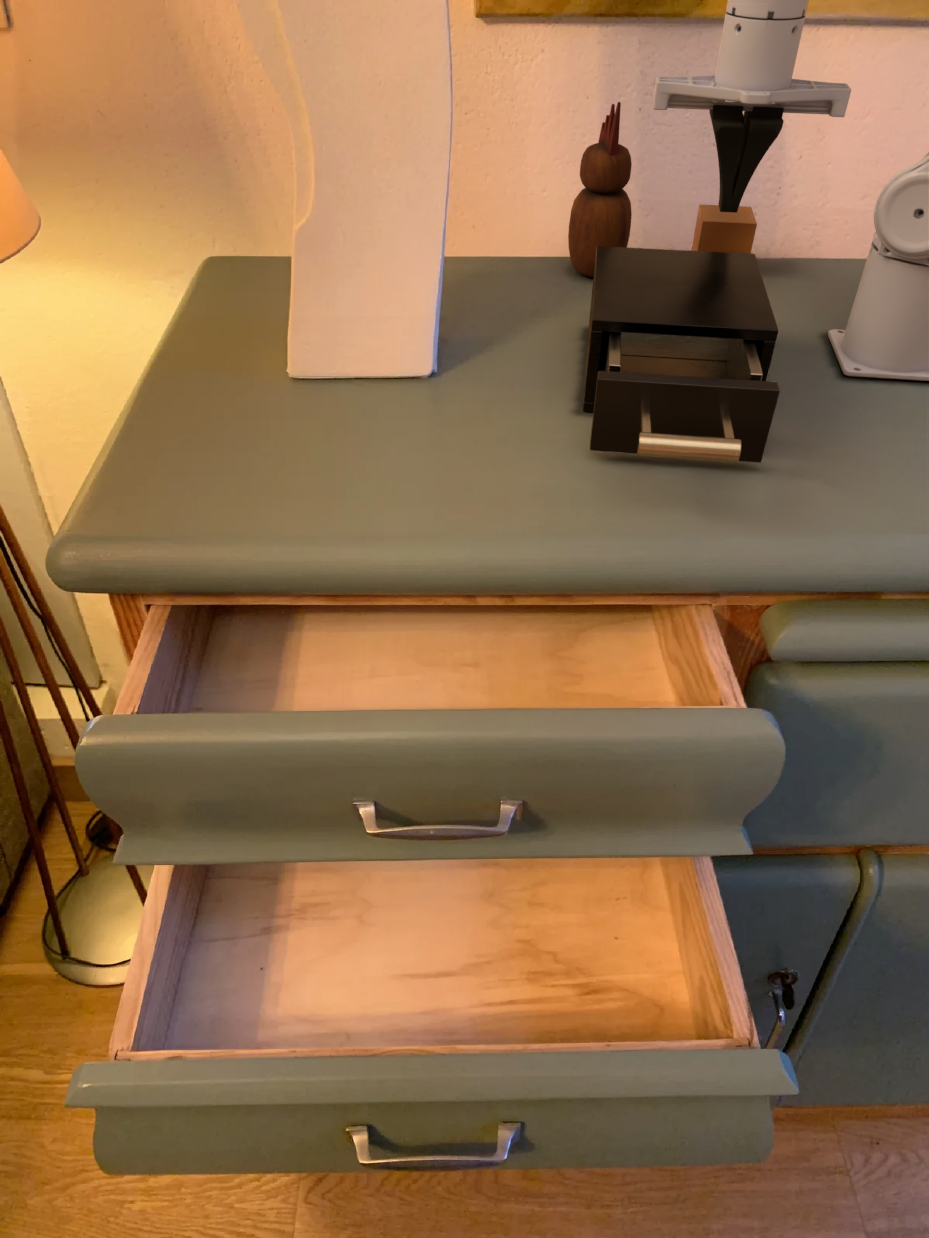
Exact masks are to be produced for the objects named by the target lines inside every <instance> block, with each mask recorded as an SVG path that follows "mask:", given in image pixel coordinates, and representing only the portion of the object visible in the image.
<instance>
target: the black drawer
mask: <svg viewBox="0 0 929 1238" xmlns="http://www.w3.org/2000/svg"><path fill="white" fill-rule="evenodd" d="M762 377H763V373H762V369H761V365H760V362H759V358H758V354H757V350H756V346H755V342H754V340H744V339H728V338H711V337H694V336H677V335H660V334H643V333H626V332H609V331H607V333H606V342H605V351H604V360H603V371H598V376H597V385H596V394H595V403H594V412H592V413H593V414H592V422H591V433H590V441H589V450H590V451H594V452H609V453H621V454H635V455H637V456H640V457H641V456H643V457H655V458H667V459H668V458H670V459H681V460H697V461H710V462H711V461H712V462H724V463H738V462H746V463H747V462H749V463H761V462H762V461H763V457H764V454H765V453H764V452H765V449H766V445H767V441H768V437H769V435H770V434H769V433H770V430H771V427H772V423H773V418H774V415H775V410H776V407H777V403H778V400H779V396H780V392H781V390H780V387H779V382H778V381H767V380H766V381H762Z"/></svg>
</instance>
